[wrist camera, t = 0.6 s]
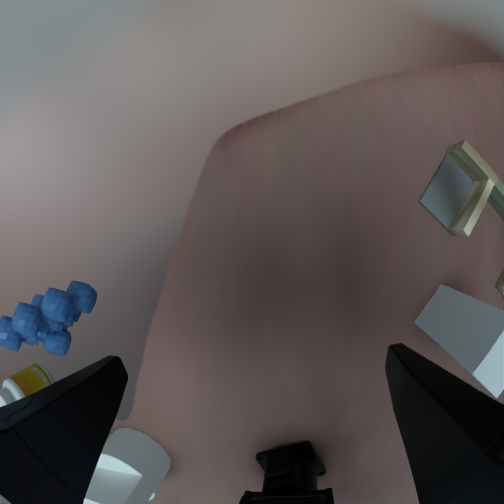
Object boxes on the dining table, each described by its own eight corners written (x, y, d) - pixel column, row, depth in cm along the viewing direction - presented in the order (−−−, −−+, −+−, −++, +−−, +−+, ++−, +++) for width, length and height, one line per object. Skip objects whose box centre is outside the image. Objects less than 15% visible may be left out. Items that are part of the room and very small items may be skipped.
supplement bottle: (36, 355, 30) (-10, 379, 21) (59, 382, 30) (15, 412, 21) (31, 375, 31) (-10, 398, 22) (53, 400, 31) (13, 428, 21)
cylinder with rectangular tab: (153, 429, 28) (106, 492, 16) (181, 475, 29) (149, 537, 17) (102, 425, 30) (53, 473, 18) (130, 469, 30) (93, 519, 18)
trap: (512, 309, 21) (527, 315, 18) (418, 201, 22) (433, 199, 19) (537, 259, 20) (553, 261, 17) (449, 147, 21) (465, 139, 18)
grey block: (439, 345, 23) (496, 398, 12) (413, 322, 23) (472, 374, 12) (465, 309, 22) (532, 346, 11) (441, 283, 22) (512, 315, 12)
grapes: (71, 351, 29) (5, 388, 17) (48, 303, 29) (-24, 326, 17) (131, 320, 27) (52, 365, 15) (102, 261, 27) (13, 279, 15)
